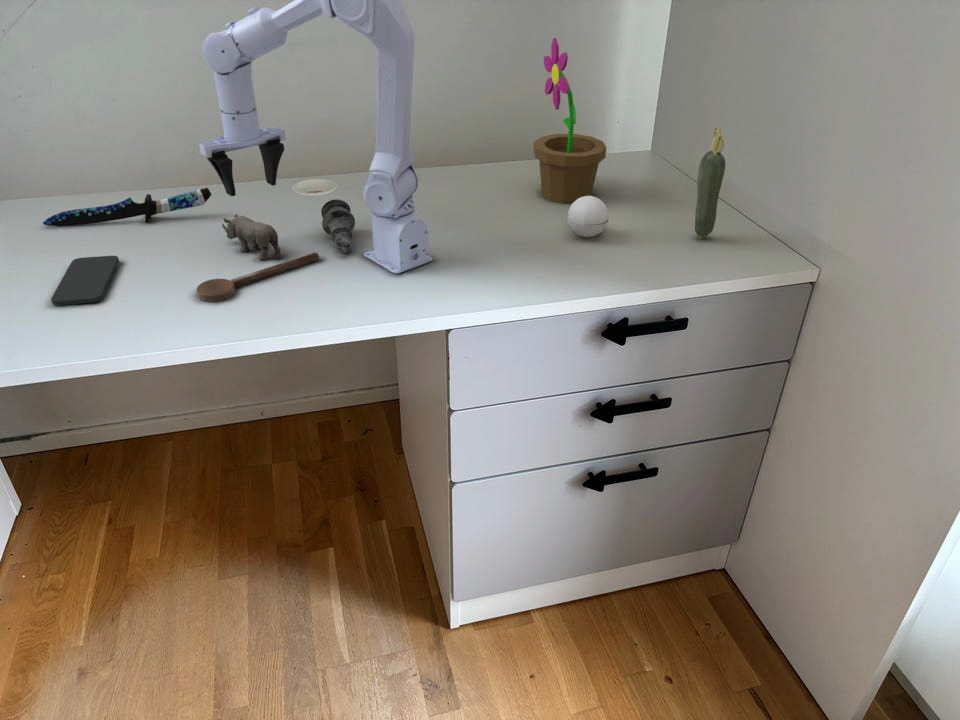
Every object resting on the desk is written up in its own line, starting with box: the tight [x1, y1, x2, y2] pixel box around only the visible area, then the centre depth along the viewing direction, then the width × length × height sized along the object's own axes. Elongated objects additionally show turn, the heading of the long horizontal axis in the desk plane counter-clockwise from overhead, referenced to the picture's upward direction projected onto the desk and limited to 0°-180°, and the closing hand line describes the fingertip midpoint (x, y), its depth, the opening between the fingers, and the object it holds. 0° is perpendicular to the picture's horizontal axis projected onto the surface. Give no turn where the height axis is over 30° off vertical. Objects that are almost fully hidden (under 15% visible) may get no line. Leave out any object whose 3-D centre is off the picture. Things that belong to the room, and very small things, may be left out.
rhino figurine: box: [221, 214, 283, 261], centre depth 133 cm, size 4×14×6 cm, turn 54°
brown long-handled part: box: [196, 252, 320, 303], centre depth 125 cm, size 22×6×1 cm, turn 132°
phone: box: [50, 255, 120, 306], centre depth 123 cm, size 7×1×15 cm
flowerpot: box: [533, 37, 607, 204], centre depth 149 cm, size 14×14×30 cm
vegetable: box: [694, 127, 726, 240], centre depth 133 cm, size 4×4×20 cm
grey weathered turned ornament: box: [320, 198, 356, 254], centre depth 135 cm, size 6×6×12 cm
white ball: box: [567, 195, 617, 238], centre depth 138 cm, size 10×7×7 cm
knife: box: [42, 187, 212, 227], centre depth 143 cm, size 31×3×4 cm, turn 98°
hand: (251, 189), depth 133 cm, fingers open, 7 cm apart
